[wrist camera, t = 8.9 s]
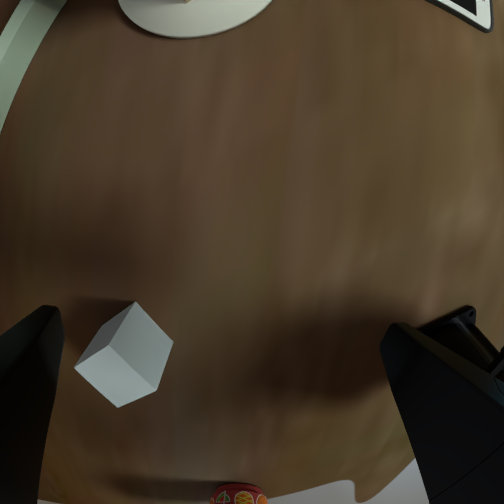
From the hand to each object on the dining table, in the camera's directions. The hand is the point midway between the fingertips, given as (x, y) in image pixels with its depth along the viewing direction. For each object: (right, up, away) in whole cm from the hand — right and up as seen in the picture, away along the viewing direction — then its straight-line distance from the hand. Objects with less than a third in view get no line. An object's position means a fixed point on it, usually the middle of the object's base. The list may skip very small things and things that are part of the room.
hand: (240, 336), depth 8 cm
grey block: (-8, -4, +14) cm, 16 cm away
